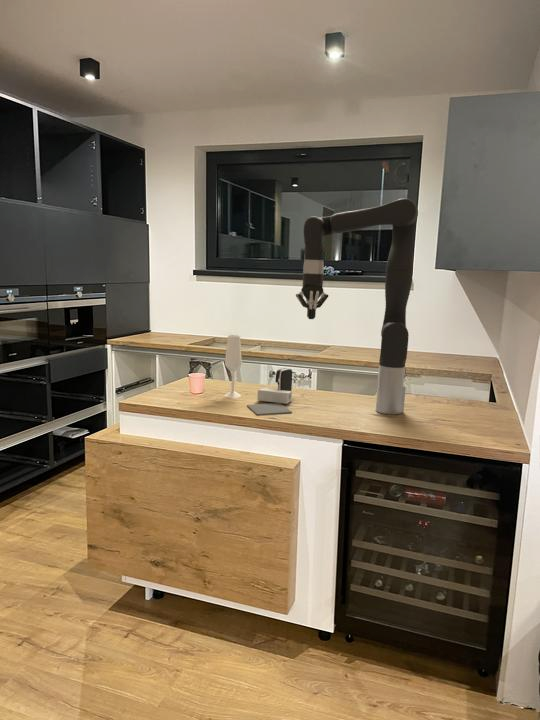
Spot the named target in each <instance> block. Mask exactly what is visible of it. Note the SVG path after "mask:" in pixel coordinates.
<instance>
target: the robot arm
mask: <svg viewBox="0 0 540 720" xmlns="http://www.w3.org/2000/svg"><path fill="white" fill-rule="evenodd" d="M418 216H419V210H418V207H417V205H416V203H415V202H414V201H413V200H412V199H409V198H405V197H404V198H399V199H396V200H393V201H390V202H388V203H385V204H381V205H378V206H375V207H369V208H363V209H357V210H356V209H355V210H351V211H349V210H348V211H342V212H338V213H333V214H332V215H329V216H321V217H319V216H315V215H313V216H309V217H308V218H307V219H306V220H305V222H304V225H303V239H304V240H303V241H304V260H303V261H304V262H303V269H302V270H303V271H302V286H301V287H302V288H301V291H300V292H298V293H296V294H295V297H296V298H297V300H298V301H299V303H300V304H301V306H302V307H303V308H306V309H307V310H306V316H307V319H308V320H315V318H316V314H317V313H316V312H317V309H319V308H321V307H322V306H323V304H324V303H325V301H326V300H327V299H328V298H329V294H326V293H325V291H324V288H323V287H324V286H323V285H324V272H325V270H324V269H325V267H324V266H325V264H324V258H325V257H324V255H325V247H324V245H323V237H327V236H330V235H335V234H343V233H350V232H354V231H360V230H363V229H367V228H370V227H371V228H372V227H375V226H382V225H383V226H384V225H387V226H390V225H392V236H391V237H392V240H391V246H390V249H389V254H388V257H387V260H386V261H387V262H386V266H385V267H386V268H385V279H384V281H385V284H384V285H385V286H384V297H385V298H384V299H385V309H384V316H383V317H384V318H383V321H382V328H381V329H380V330H381V331H380V336H381V344H380V355H379V361H378V362H379V363H378V364H379V365H378V373H377V374H378V375H377V387H376V388H377V391H376V401H375V402H376V403H375V411H376V412H378V413H379V414H384V415H398V414H401V413H404V412H405V400H406V389H407V388H406V386H404V385H405V383H404V382H405V373H406V362H407V357H408V350H409V349H408V347H409V329H408V328H407V325H406V324H407V323H406V320H407V318H406V317H407V305H408V302H409V301H408V300H409V296H410V293H411V289H412V284H413V283H412V281H413V274H414V272H413V271H414V236H415V230H416V228H417V227H416V226H417V221H418Z"/></svg>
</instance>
